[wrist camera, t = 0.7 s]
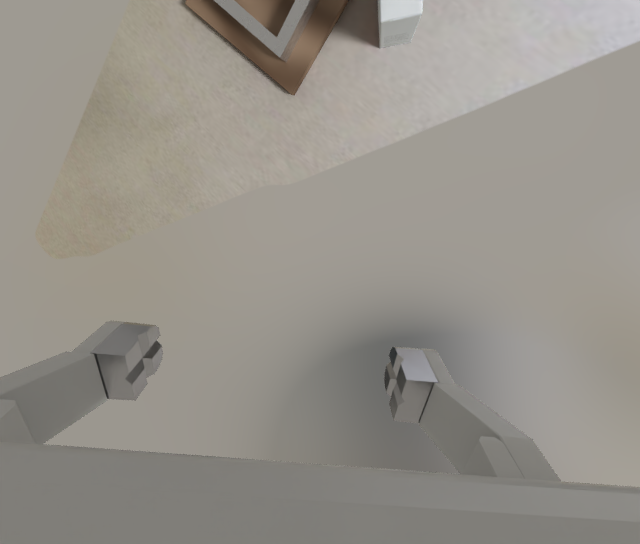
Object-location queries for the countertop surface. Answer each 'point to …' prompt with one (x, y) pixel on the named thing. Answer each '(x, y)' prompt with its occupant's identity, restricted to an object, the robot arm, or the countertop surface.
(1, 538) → the robot arm
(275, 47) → the socket board
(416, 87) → the countertop surface
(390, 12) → the skincare box
